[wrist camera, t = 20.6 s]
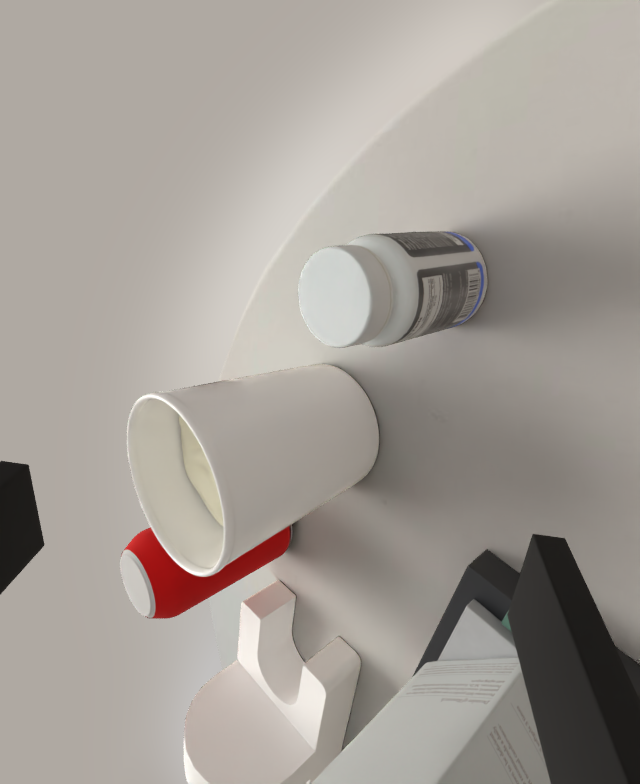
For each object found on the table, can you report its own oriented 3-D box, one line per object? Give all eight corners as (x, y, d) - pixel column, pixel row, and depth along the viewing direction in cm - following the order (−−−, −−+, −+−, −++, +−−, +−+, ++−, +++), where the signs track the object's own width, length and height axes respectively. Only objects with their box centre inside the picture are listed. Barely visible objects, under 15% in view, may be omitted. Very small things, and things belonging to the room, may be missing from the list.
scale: (486, 548, 28) (459, 572, 26) (711, 718, 21) (697, 766, 20) (426, 666, 33) (400, 693, 31) (591, 829, 27) (571, 875, 25)
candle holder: (419, 448, 29) (252, 533, 21) (337, 516, 36) (187, 602, 28) (327, 320, 32) (150, 353, 24) (267, 406, 39) (113, 454, 31)
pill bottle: (394, 267, 28) (275, 279, 22) (460, 210, 24) (339, 208, 19) (434, 343, 27) (322, 376, 21) (508, 296, 24) (398, 321, 18)
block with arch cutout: (331, 794, 45) (228, 906, 38) (262, 710, 51) (161, 793, 44) (362, 658, 38) (240, 765, 30) (277, 578, 44) (157, 651, 36)
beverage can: (310, 527, 39) (165, 608, 30) (281, 563, 43) (147, 643, 34) (266, 464, 41) (121, 524, 33) (243, 504, 45) (108, 566, 37)
